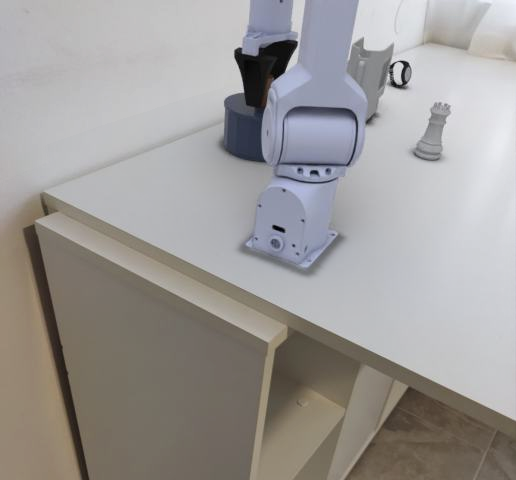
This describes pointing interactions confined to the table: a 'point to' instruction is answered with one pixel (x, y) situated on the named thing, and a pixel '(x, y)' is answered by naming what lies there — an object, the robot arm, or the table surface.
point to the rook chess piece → (433, 133)
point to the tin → (243, 137)
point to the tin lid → (240, 109)
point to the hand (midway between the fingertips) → (262, 99)
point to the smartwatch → (404, 74)
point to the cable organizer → (370, 71)
